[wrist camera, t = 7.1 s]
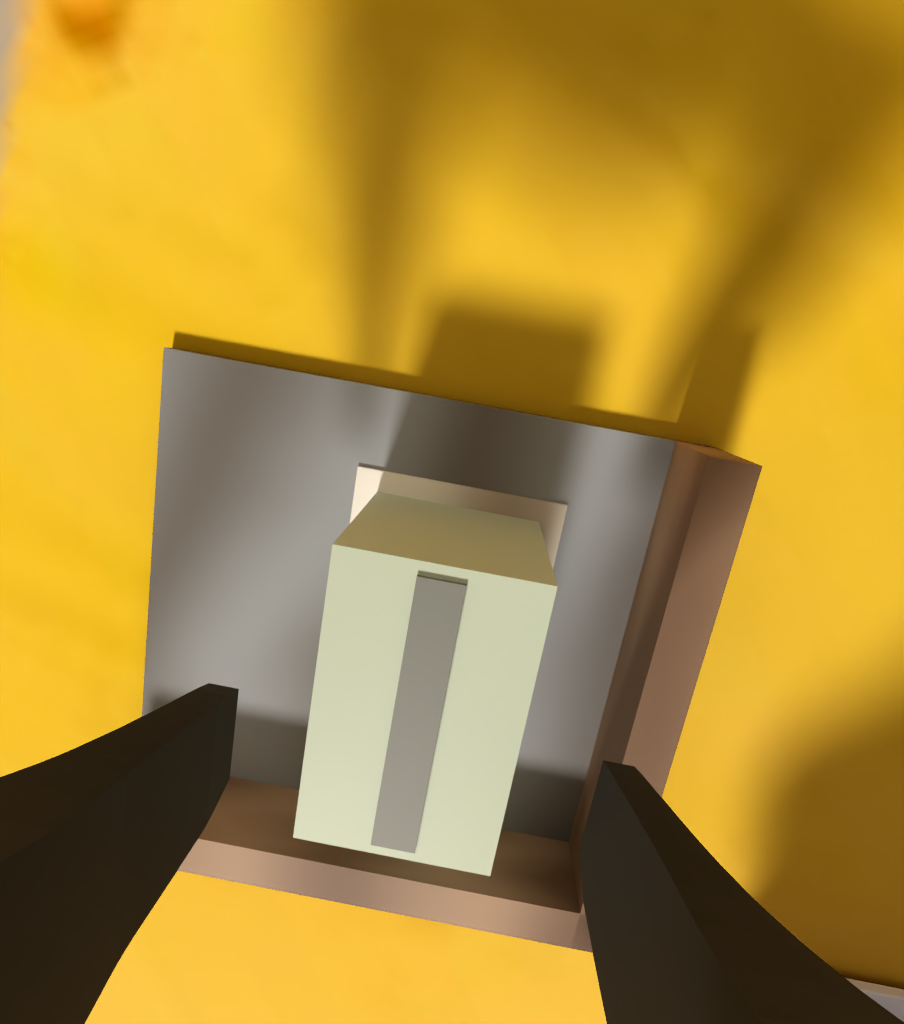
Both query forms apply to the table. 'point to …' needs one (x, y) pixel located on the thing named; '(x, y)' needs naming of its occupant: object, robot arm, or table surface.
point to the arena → (302, 589)
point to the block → (424, 681)
